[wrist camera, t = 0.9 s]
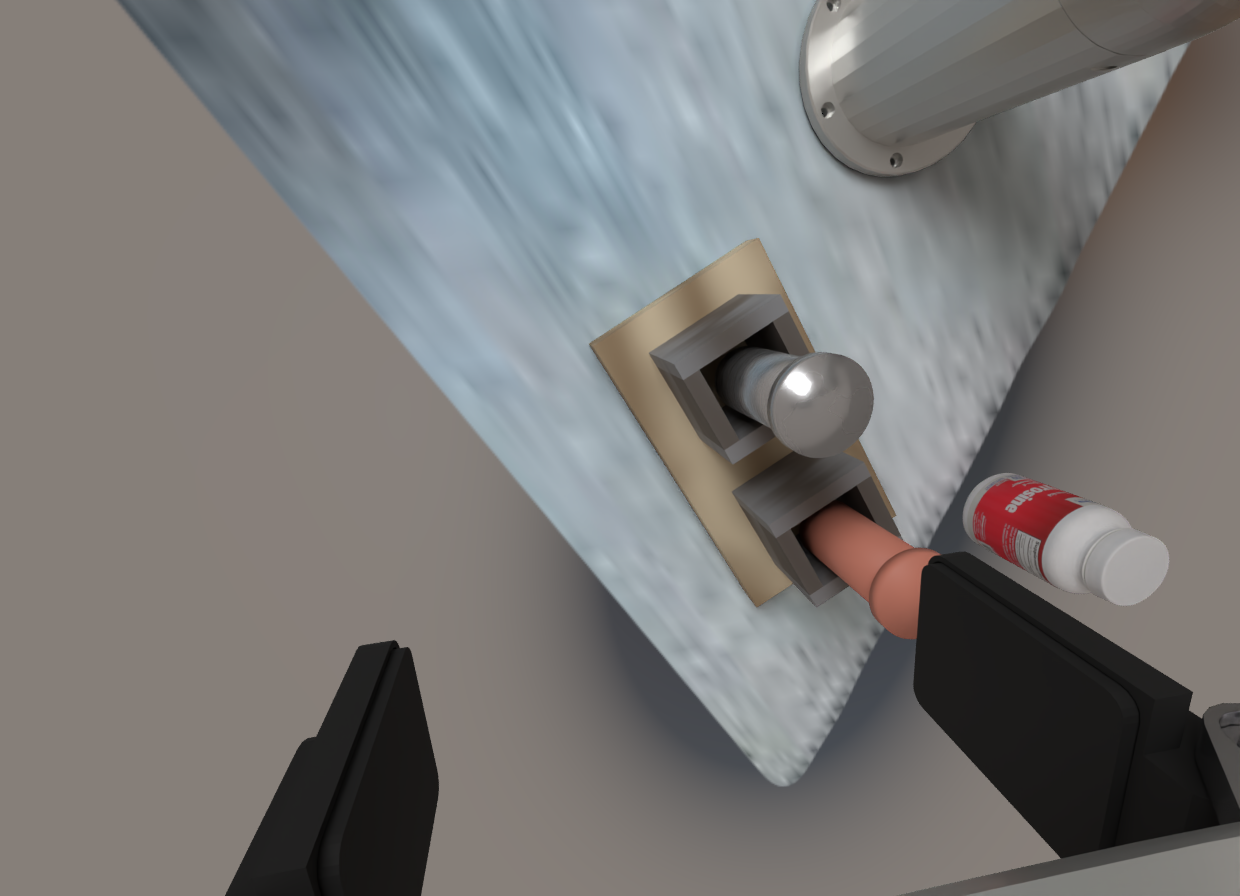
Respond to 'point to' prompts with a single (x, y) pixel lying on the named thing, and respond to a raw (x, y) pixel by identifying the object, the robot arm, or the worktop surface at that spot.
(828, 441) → the grey plug
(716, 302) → the board
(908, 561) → the red plug
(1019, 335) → the worktop surface
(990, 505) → the pill bottle
